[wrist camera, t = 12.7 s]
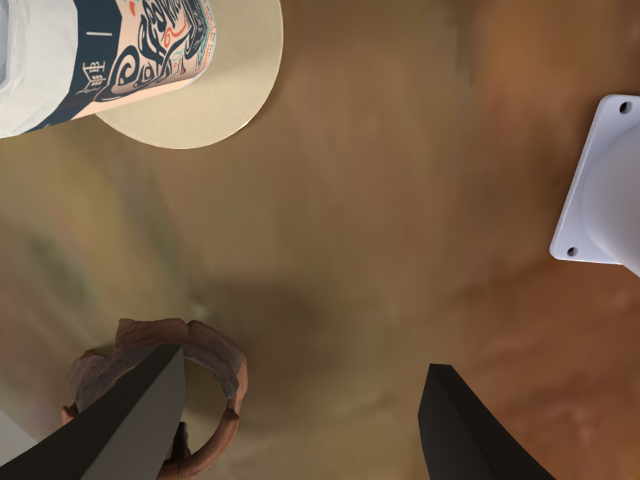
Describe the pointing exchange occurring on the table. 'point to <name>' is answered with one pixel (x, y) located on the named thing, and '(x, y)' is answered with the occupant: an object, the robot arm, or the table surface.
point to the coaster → (214, 83)
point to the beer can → (95, 56)
